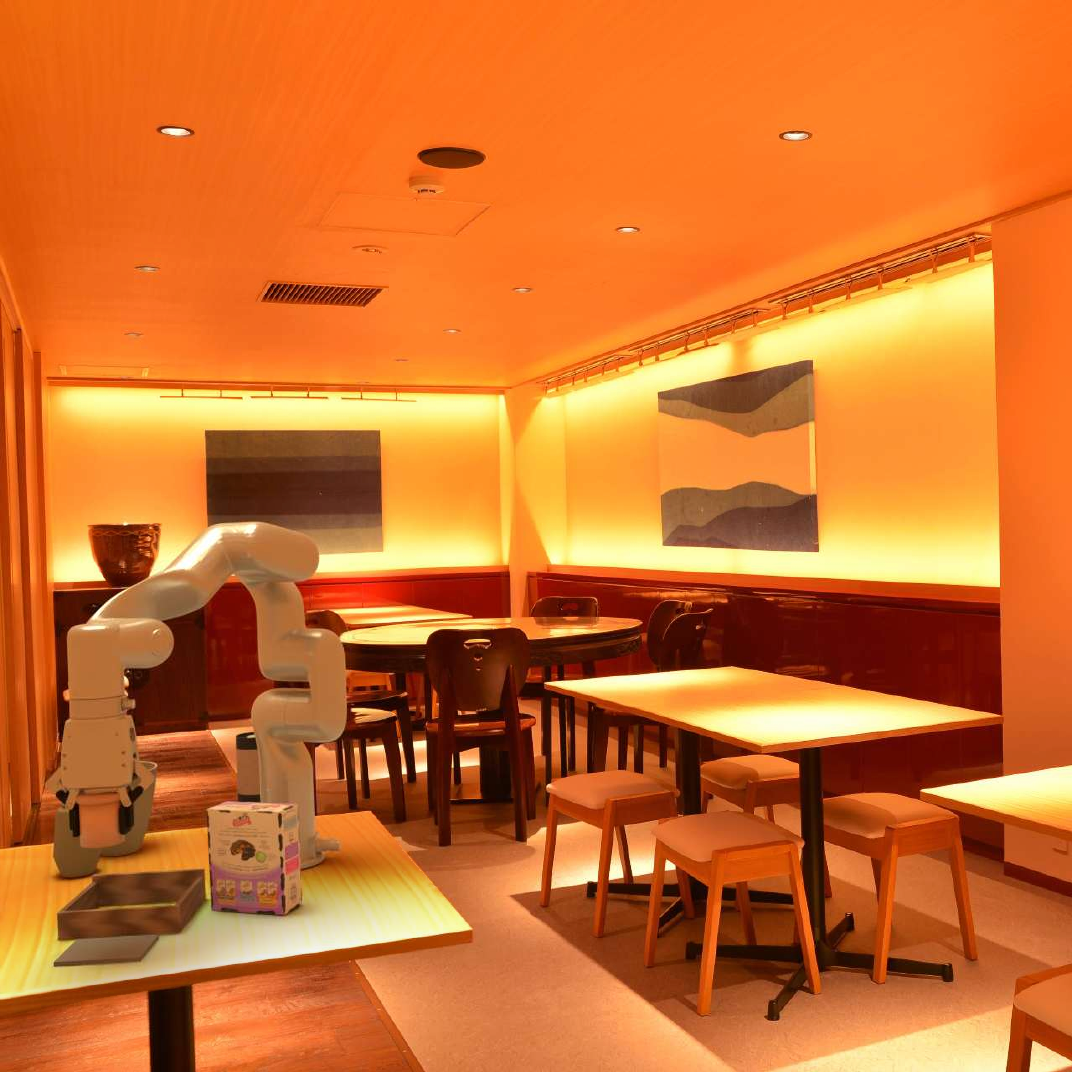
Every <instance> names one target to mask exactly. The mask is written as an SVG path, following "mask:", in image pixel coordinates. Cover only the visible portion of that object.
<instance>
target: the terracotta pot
mask: <svg viewBox="0 0 1072 1072" xmlns="http://www.w3.org/2000/svg"><path fill="white" fill-rule="evenodd" d="M76 803H77V804H79V821H80V846H81V847H84V848H101V847H108V846H113V845H117V844H120V843H122V842H124V841H125V835H121V834H120V828H119V808H120V807H121V806H122V802H121V800H120V793H119V794H118V793H117V791H116V788H107V789H91V790H86V791H84V792H80V793H79V795H78V796H76Z"/></svg>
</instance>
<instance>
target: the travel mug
mask: <svg viewBox="0 0 1072 1072" xmlns="http://www.w3.org/2000/svg"><path fill="white" fill-rule="evenodd" d="M235 749H236V750H235V752H236V753H235V757H236V758H235V759H236V785H237V789H236V790H237V802H255V803H261V799H260V772H259V757H258V749H257V743H256V738H255V734H254V731H249V732H241V733H238V734H236V736H235Z"/></svg>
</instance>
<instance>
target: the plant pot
mask: <svg viewBox="0 0 1072 1072" xmlns="http://www.w3.org/2000/svg"><path fill="white" fill-rule="evenodd" d="M139 761H140V760H139ZM140 763H141V764H143V765H144V766H145V767H146V768H147V769H148V770H149V771H150V772H151V773H152V774H153V775H154V776H155V781H154V782H153V783H152V784H151V785H150V786H149V787H148V788H147V789H146V790H145V791H144V792H143V793H142V794H141V796H140V797H139V798H138V799H137V800H136V801H135V802H134V826H133V827H131V831H129V832H128V833H127V834H126V835H125V841H124V842H122V843H120V844H117V845H113V846H108V847H101V853H100V856H104V857H121V856H125V855H131V854H133V853H137V852H139V851H140V850H141V848H142V846H143V843H144V839H145V836H146V832H147V829H148V826H149V821H150V817H151V814H152V808H153V803H154V797H155V791H156V782H157V772H158V764H157V763H156V762H152V761H142V760H141V761H140ZM140 782H141V778H140V777H139V778H138V779H137V780H135V781H132V782H131V783H130V784H131V786H132V788H133V790H134V789H135V788H136V787H137V786H138V785H139V783H140ZM87 790H91V789H87ZM85 791H86V790H85Z"/></svg>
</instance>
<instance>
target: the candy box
mask: <svg viewBox="0 0 1072 1072" xmlns="http://www.w3.org/2000/svg"><path fill="white" fill-rule="evenodd" d="M205 812H206V825H207V826H206V827H207V828H206V830H207V847H208V849H207V850H208V851H207V852H208V870H209V886H210V887H209V888H210V911H211V910H212V911H215V912H217V911H218V912H231V913H245V914H246V913H247V914H258V915H259V914H262V915H273V916H277V915H278V916H279V915H280V916H285V915H287V914H289V913H291V912H292V911H293V910H295V909H297V908H299V907H301V906H302V905H303V891H302V890H303V889H302V874H301V873H302V872H301V870H302V869H301V865H300V842H299V820H298V804H283V803H255V802H238V801H223V802H221V803H219V804H215V805H214V806H211V807H209V808H207V809H206V811H205Z"/></svg>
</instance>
